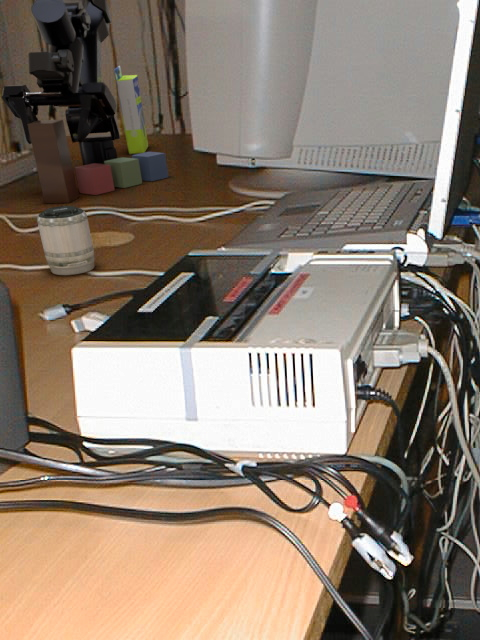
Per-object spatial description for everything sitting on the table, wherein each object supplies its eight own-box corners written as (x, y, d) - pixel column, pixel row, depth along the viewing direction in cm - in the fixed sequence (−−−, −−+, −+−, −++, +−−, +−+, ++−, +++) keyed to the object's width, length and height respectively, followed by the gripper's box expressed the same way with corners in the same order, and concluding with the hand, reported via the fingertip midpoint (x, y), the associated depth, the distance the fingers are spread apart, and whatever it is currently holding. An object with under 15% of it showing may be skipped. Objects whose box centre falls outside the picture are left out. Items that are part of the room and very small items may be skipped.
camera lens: (42, 269, 122) (28, 209, 118) (86, 260, 125) (74, 201, 121) (58, 279, 117) (44, 216, 113) (104, 269, 120) (92, 208, 116)
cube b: (126, 181, 174) (122, 157, 172) (142, 183, 172) (138, 158, 170) (108, 186, 171) (103, 161, 169) (124, 188, 169) (120, 162, 167)
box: (145, 153, 203) (131, 68, 194) (127, 154, 203) (112, 69, 194) (149, 146, 212) (136, 64, 203) (131, 147, 212) (118, 65, 203)
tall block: (55, 197, 164) (38, 120, 157) (79, 197, 163) (63, 119, 157) (44, 203, 160) (27, 124, 153) (69, 202, 159) (52, 123, 153)
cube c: (98, 188, 170) (94, 163, 167) (114, 190, 167) (110, 164, 165) (79, 193, 166) (74, 167, 164) (95, 195, 164) (90, 169, 162)
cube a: (152, 175, 179) (149, 151, 177) (168, 177, 177) (165, 152, 175) (135, 179, 176) (131, 155, 174) (151, 181, 174) (147, 156, 171)
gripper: (-9, 33, 155) (-21, 112, 151) (97, 29, 153) (87, 109, 150) (22, 79, 166) (11, 154, 162) (121, 76, 164) (112, 151, 160)
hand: (54, 141), depth 158 cm, fingers open, 9 cm apart
